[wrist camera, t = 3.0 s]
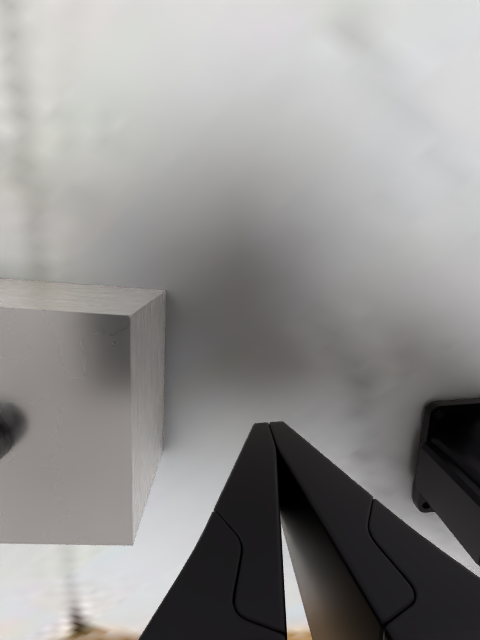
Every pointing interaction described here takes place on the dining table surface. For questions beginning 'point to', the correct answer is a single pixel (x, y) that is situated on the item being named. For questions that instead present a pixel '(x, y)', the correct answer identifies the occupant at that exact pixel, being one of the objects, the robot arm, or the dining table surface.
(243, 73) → the dining table surface
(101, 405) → the block
